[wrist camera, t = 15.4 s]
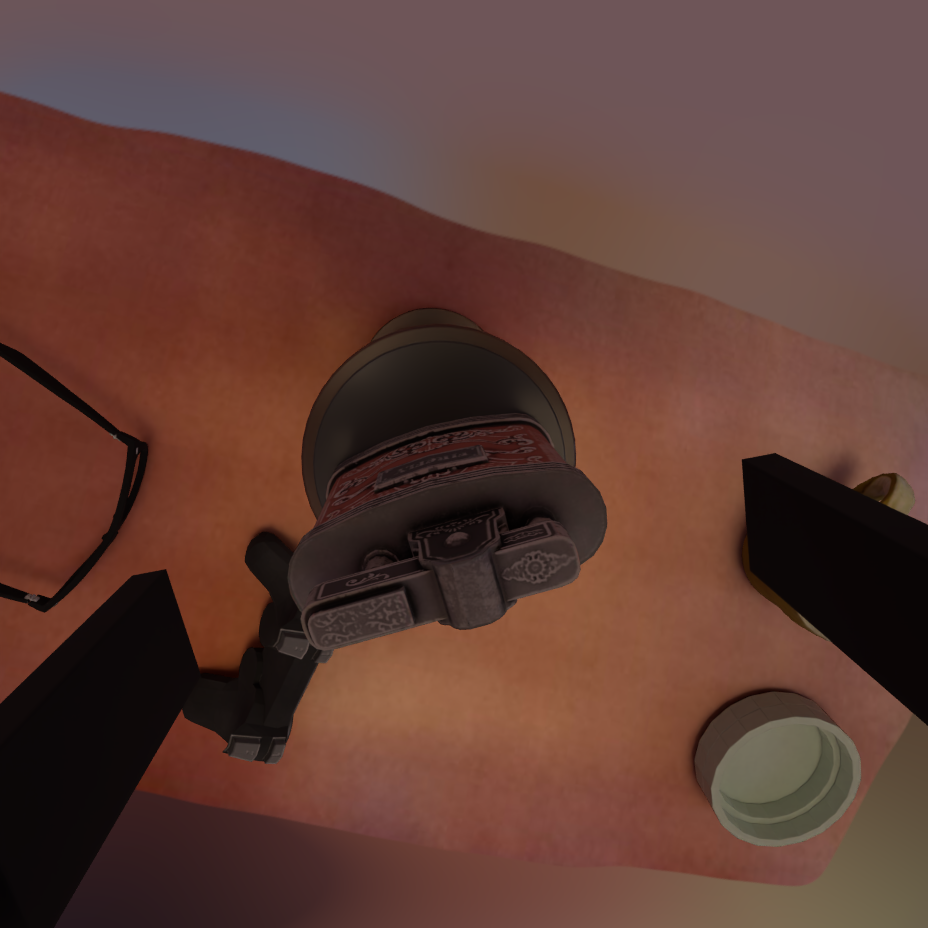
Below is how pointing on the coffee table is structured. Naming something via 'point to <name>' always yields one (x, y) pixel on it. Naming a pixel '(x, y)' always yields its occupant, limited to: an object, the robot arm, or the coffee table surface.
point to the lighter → (443, 531)
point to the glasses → (124, 501)
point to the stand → (424, 391)
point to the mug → (881, 487)
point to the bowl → (777, 769)
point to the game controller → (261, 669)
